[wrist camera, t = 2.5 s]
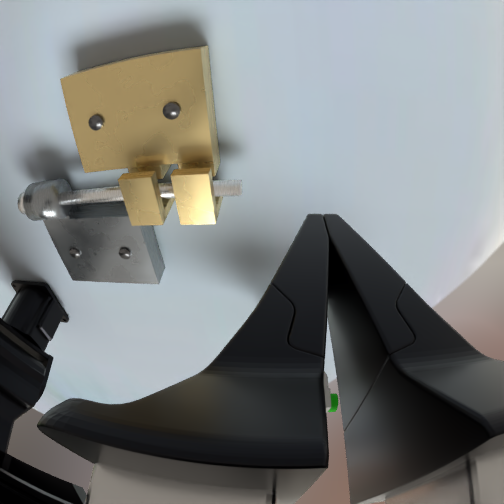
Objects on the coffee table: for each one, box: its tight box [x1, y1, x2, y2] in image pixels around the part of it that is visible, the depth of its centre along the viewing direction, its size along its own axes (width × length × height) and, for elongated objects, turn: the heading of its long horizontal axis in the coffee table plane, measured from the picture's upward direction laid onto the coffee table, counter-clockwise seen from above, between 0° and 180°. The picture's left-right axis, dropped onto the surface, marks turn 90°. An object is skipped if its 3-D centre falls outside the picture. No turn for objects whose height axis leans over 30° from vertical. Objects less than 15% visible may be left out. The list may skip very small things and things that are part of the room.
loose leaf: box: [60, 46, 223, 226], centre depth 18 cm, size 9×10×4 cm
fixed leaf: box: [18, 179, 242, 284], centre depth 23 cm, size 18×10×4 cm, turn 93°
